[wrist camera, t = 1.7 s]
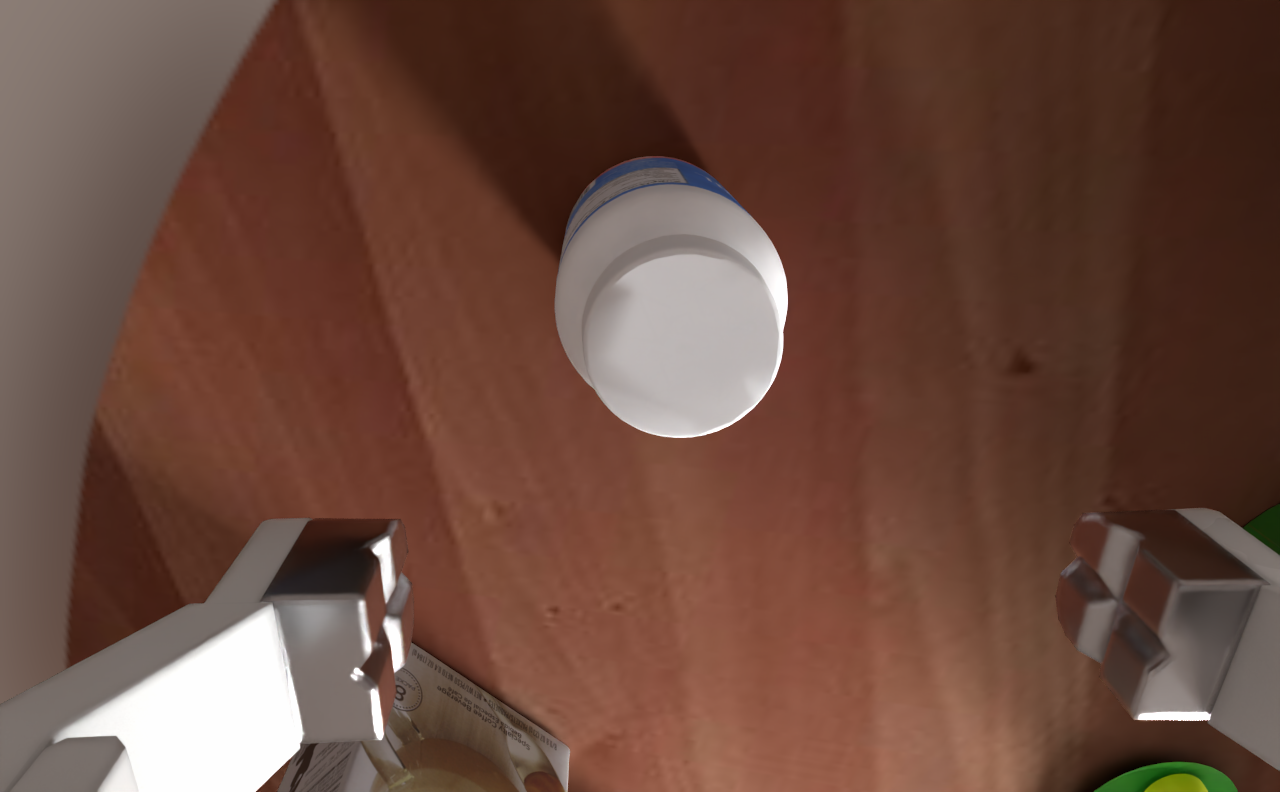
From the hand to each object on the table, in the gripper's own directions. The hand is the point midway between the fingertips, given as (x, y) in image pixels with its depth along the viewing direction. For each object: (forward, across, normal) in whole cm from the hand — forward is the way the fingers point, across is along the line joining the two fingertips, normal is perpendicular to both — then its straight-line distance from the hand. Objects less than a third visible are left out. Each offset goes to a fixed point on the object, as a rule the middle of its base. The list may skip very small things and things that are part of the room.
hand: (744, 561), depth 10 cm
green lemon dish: (+17, -23, +26) cm, 38 cm away
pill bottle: (+17, 0, 0) cm, 17 cm away
